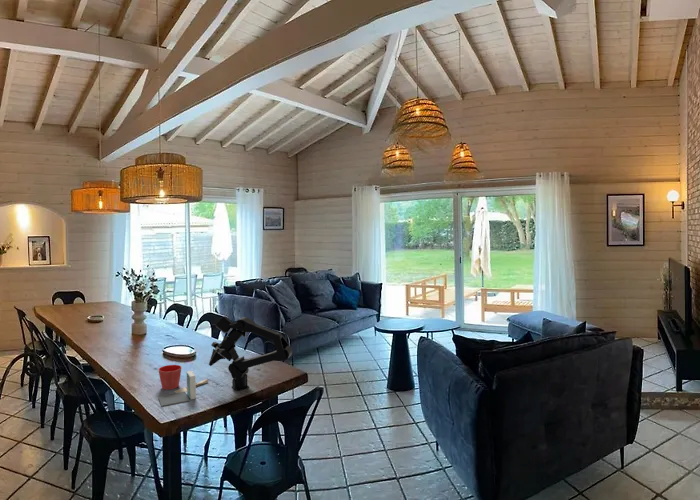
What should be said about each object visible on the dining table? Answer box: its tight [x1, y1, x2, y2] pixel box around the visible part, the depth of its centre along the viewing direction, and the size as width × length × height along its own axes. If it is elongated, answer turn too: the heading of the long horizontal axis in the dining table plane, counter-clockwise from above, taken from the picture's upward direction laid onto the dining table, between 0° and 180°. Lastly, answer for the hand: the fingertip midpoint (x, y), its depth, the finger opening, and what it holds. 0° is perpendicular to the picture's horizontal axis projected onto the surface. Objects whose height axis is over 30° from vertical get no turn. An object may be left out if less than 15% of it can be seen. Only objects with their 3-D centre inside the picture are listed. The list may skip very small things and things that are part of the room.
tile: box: [186, 370, 197, 400], centre depth 209 cm, size 2×8×11 cm, turn 30°
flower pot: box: [158, 364, 182, 391], centre depth 221 cm, size 11×11×10 cm
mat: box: [157, 392, 191, 408], centre depth 206 cm, size 12×12×1 cm
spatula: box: [173, 378, 209, 394], centre depth 220 cm, size 18×4×1 cm, turn 144°
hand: (209, 365), depth 213 cm, fingers closed
